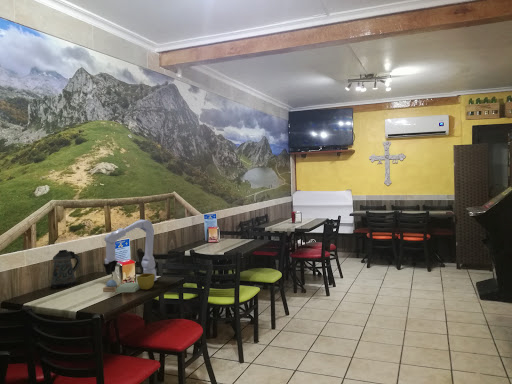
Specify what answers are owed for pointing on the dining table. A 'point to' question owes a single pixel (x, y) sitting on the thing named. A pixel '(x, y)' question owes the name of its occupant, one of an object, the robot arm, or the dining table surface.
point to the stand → (110, 289)
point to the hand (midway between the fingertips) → (110, 272)
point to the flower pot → (145, 280)
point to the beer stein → (64, 269)
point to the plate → (111, 283)
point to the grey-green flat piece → (128, 287)
